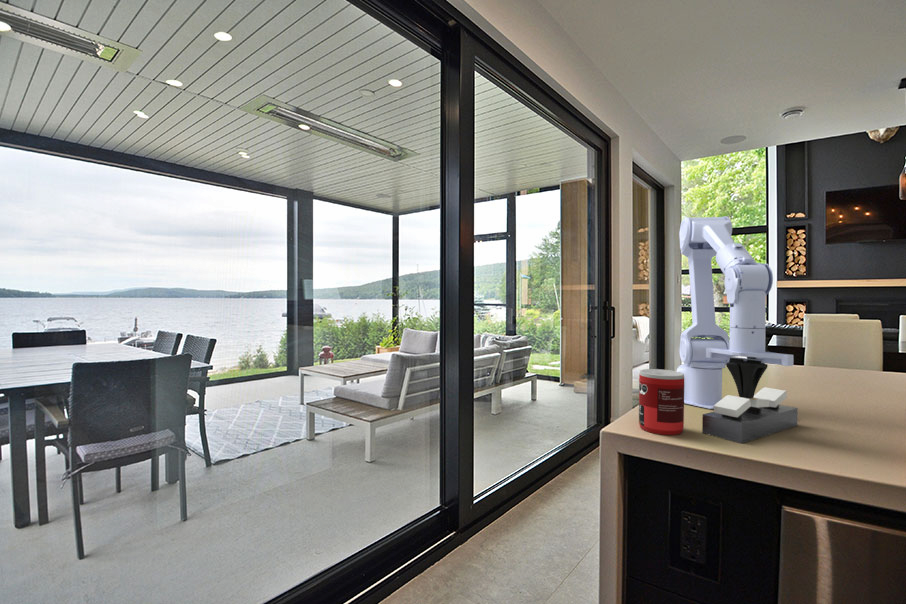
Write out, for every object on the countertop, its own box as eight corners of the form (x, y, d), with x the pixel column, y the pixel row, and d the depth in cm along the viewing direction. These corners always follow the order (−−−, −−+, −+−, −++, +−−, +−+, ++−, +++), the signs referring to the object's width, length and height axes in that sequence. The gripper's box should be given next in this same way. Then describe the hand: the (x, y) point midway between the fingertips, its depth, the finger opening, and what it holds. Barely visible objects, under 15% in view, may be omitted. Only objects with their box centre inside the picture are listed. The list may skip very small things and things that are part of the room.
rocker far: (753, 403, 93) (752, 396, 92) (764, 393, 95) (764, 387, 95) (775, 407, 89) (774, 400, 89) (786, 397, 92) (786, 390, 92)
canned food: (648, 421, 94) (648, 367, 94) (690, 429, 88) (690, 372, 88) (631, 429, 89) (632, 372, 88) (674, 438, 83) (675, 377, 83)
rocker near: (714, 412, 85) (713, 405, 85) (728, 401, 88) (727, 394, 88) (737, 417, 82) (736, 410, 82) (751, 406, 84) (750, 399, 84)
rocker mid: (733, 402, 89) (734, 394, 89) (746, 402, 91) (747, 394, 92) (756, 407, 85) (756, 398, 85) (769, 406, 88) (769, 398, 88)
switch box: (702, 433, 86) (702, 410, 86) (772, 413, 100) (772, 393, 100) (741, 443, 80) (742, 418, 80) (810, 421, 94) (811, 400, 94)
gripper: (697, 326, 91) (696, 395, 91) (780, 330, 79) (779, 409, 79) (717, 325, 95) (716, 391, 95) (799, 329, 82) (798, 405, 82)
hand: (746, 399), depth 87 cm, fingers closed, pressing on rocker mid
